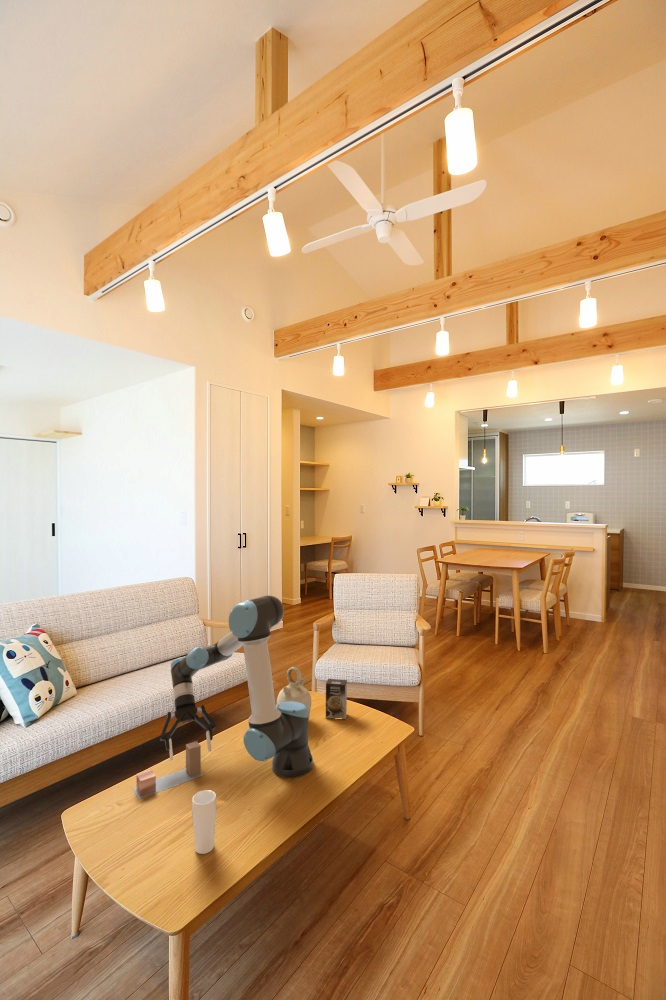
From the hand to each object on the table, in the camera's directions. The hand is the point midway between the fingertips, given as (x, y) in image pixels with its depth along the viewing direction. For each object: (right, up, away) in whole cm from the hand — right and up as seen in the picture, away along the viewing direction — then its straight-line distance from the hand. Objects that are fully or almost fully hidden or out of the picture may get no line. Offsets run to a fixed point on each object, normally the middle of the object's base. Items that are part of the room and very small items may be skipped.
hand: (191, 754), depth 174 cm
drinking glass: (+15, -8, -36) cm, 40 cm away
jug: (+35, -7, +38) cm, 52 cm away
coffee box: (+53, -6, +44) cm, 69 cm away
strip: (-6, -7, -6) cm, 11 cm away
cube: (-12, -6, -11) cm, 17 cm away
